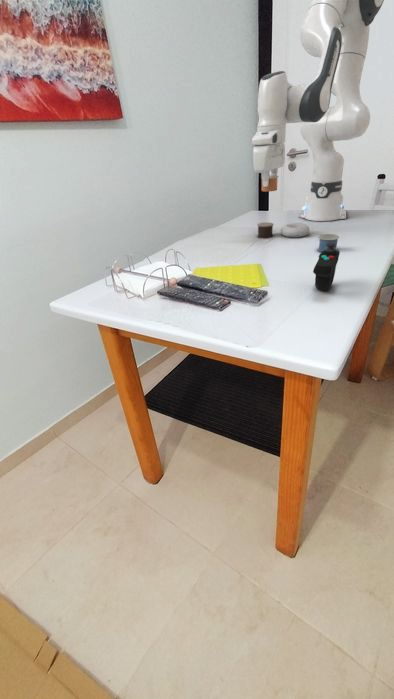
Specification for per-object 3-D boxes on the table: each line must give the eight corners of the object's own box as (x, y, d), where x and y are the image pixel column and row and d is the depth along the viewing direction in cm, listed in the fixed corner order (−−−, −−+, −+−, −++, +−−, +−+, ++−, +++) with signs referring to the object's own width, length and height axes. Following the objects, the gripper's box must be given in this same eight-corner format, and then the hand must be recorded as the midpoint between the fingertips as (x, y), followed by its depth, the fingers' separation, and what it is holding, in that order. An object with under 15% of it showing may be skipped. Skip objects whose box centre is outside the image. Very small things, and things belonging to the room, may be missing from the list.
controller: (336, 281, 84) (342, 241, 78) (328, 301, 75) (334, 257, 69) (318, 280, 85) (323, 240, 80) (308, 299, 76) (313, 255, 71)
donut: (281, 239, 121) (310, 238, 119) (281, 229, 119) (311, 228, 117) (280, 232, 129) (308, 231, 127) (281, 223, 127) (308, 221, 125)
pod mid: (264, 189, 119) (264, 175, 116) (280, 189, 116) (280, 175, 114) (258, 191, 115) (258, 177, 112) (274, 191, 112) (275, 177, 110)
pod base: (260, 233, 129) (260, 222, 127) (275, 234, 126) (275, 222, 124) (254, 237, 125) (255, 225, 123) (269, 238, 122) (270, 226, 120)
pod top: (319, 247, 109) (321, 233, 107) (338, 248, 106) (340, 234, 104) (315, 252, 105) (317, 238, 103) (335, 253, 102) (337, 239, 100)
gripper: (272, 136, 116) (271, 180, 123) (249, 139, 101) (249, 189, 109) (290, 134, 113) (288, 180, 120) (269, 137, 98) (268, 189, 106)
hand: (269, 184), depth 114 cm, fingers closed on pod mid, 5 cm apart
